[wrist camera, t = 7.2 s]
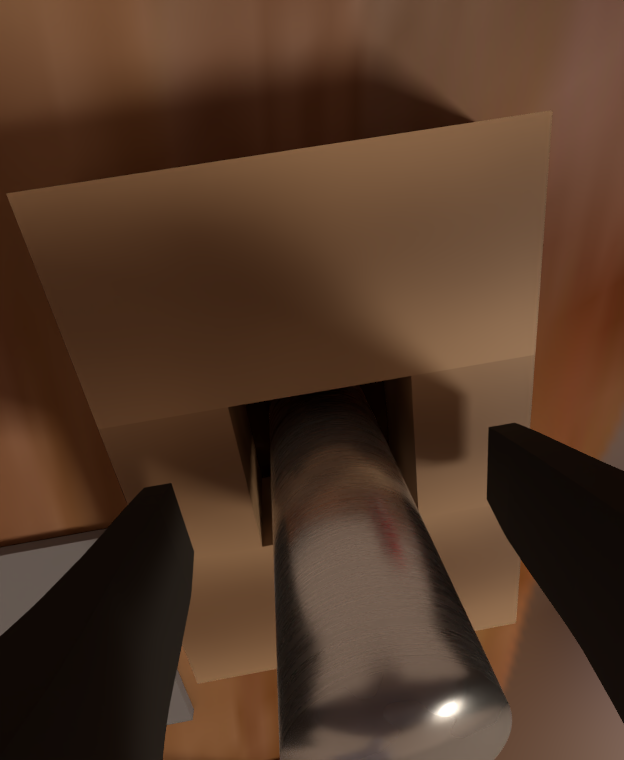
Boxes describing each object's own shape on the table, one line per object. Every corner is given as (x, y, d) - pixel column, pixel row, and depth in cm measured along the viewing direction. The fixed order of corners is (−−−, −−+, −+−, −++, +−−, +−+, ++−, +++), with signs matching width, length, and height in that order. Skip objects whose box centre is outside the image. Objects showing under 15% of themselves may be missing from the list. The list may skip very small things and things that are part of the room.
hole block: (475, 551, 17) (516, 622, 14) (207, 600, 17) (197, 683, 14) (481, 125, 11) (552, 110, 8) (69, 188, 11) (5, 193, 8)
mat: (193, 709, 19) (192, 719, 19) (0, 746, 19) (-5, 757, 19) (118, 526, 15) (114, 535, 15) (-132, 571, 15) (-142, 581, 14)
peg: (364, 450, 15) (493, 794, 7) (271, 457, 15) (284, 822, 6) (368, 364, 14) (531, 654, 5) (266, 369, 13) (274, 683, 5)
